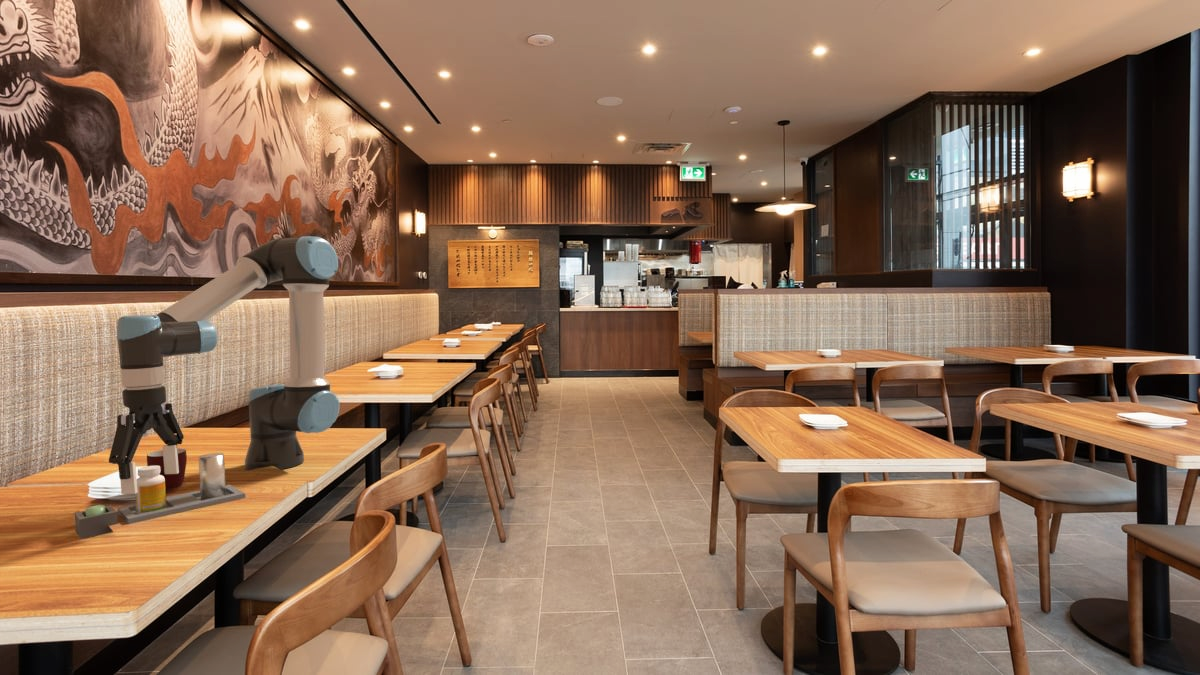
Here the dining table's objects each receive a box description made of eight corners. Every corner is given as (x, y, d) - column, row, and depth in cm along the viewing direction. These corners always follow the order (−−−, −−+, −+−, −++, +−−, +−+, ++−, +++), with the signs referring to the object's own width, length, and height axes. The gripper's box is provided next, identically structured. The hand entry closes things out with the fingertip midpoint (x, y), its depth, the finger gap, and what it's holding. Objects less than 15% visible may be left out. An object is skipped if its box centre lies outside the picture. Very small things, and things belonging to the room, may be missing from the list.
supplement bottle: (172, 508, 137) (170, 465, 137) (148, 516, 132) (145, 471, 132) (155, 506, 139) (152, 463, 138) (130, 514, 134) (127, 470, 133)
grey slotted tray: (229, 494, 152) (229, 484, 152) (245, 503, 144) (245, 493, 144) (117, 518, 136) (117, 507, 136) (129, 530, 128) (128, 519, 128)
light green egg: (104, 522, 131) (103, 503, 130) (107, 526, 128) (106, 507, 128) (85, 526, 128) (84, 507, 128) (88, 530, 126) (86, 511, 126)
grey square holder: (112, 523, 133) (110, 505, 132) (118, 530, 129) (116, 511, 128) (75, 531, 128) (74, 512, 128) (80, 539, 124) (79, 519, 124)
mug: (179, 498, 150) (177, 457, 149) (139, 501, 147) (137, 460, 146) (192, 485, 160) (190, 447, 159) (155, 489, 157) (153, 450, 156)
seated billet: (222, 493, 148) (219, 451, 147) (229, 497, 145) (226, 455, 144) (197, 498, 144) (195, 456, 144) (204, 503, 141) (202, 459, 140)
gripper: (163, 378, 146) (171, 466, 148) (80, 397, 121) (89, 503, 123) (196, 377, 146) (203, 465, 148) (119, 396, 122) (128, 502, 123)
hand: (151, 483), depth 136 cm, fingers open, 13 cm apart
